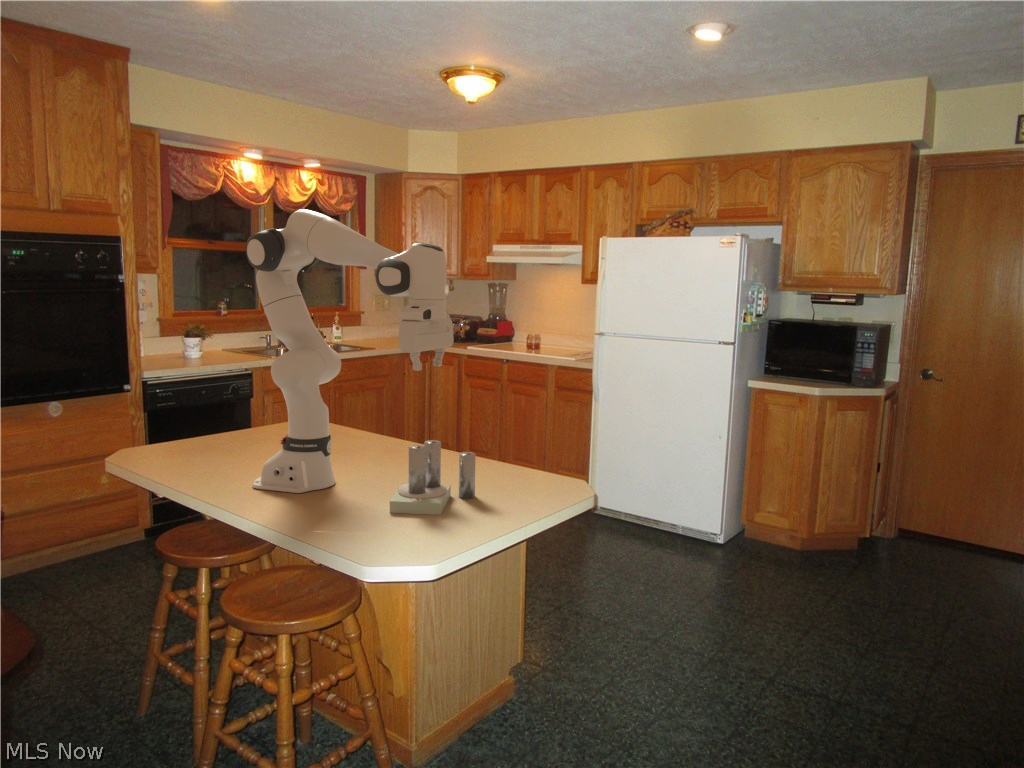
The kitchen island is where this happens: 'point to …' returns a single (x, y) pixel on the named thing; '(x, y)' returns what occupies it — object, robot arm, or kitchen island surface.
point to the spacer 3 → (467, 475)
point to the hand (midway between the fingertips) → (427, 368)
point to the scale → (420, 500)
